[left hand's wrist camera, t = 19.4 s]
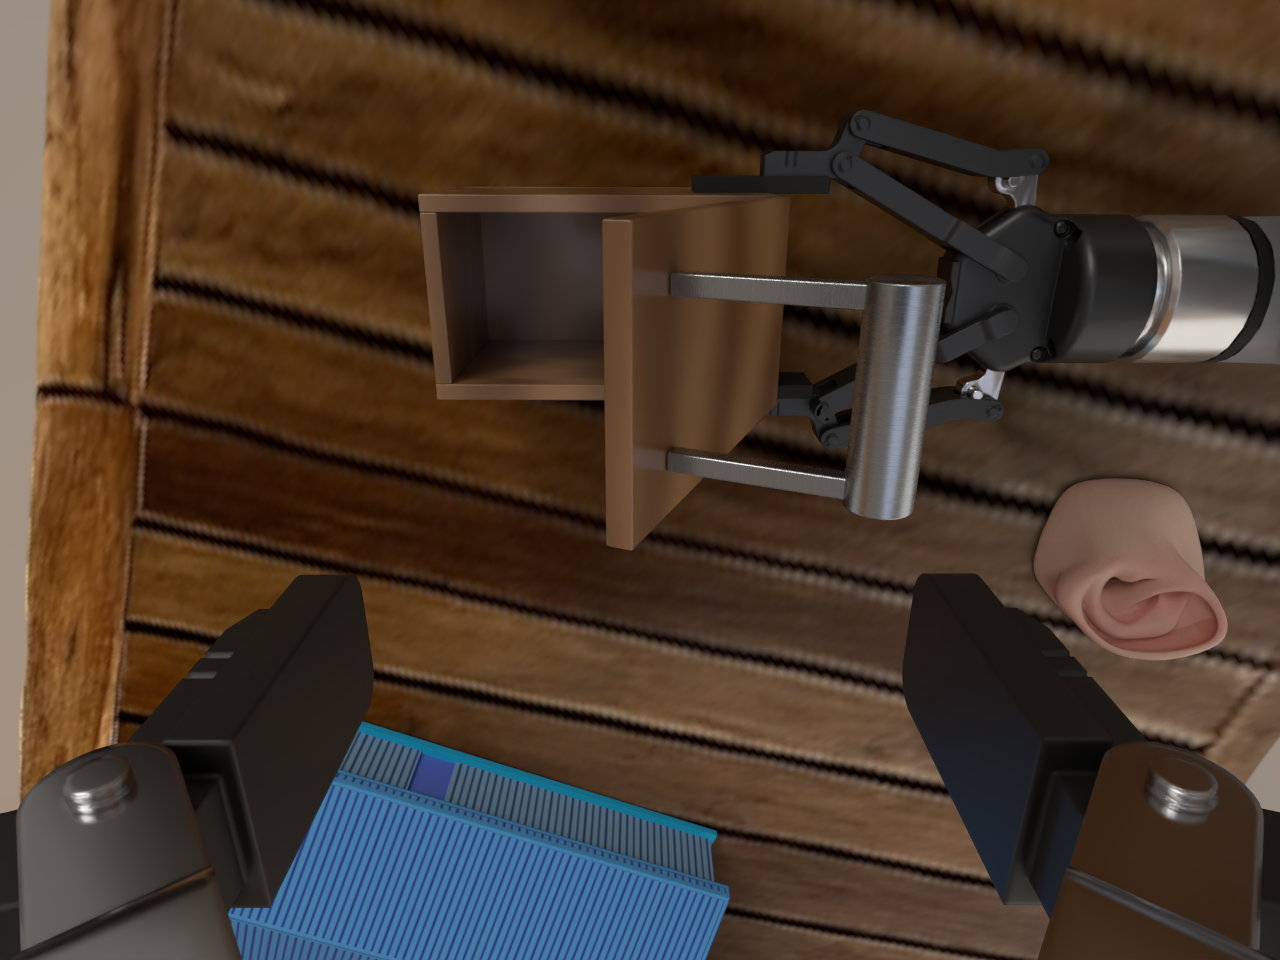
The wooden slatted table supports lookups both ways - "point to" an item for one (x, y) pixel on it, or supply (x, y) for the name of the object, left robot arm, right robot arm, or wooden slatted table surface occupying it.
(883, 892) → the wooden slatted table surface
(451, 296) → the chest
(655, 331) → the lid
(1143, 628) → the anatomical model
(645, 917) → the model building
